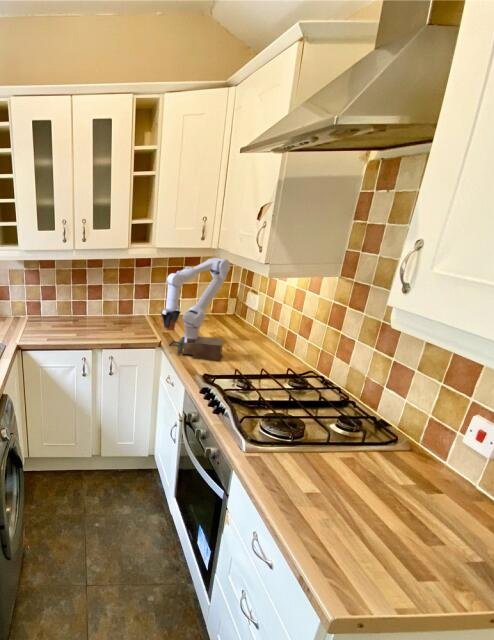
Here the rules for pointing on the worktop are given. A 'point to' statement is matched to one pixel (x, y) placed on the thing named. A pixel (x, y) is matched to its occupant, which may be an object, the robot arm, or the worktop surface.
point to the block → (171, 325)
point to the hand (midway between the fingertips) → (169, 326)
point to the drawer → (184, 345)
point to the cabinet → (208, 348)
